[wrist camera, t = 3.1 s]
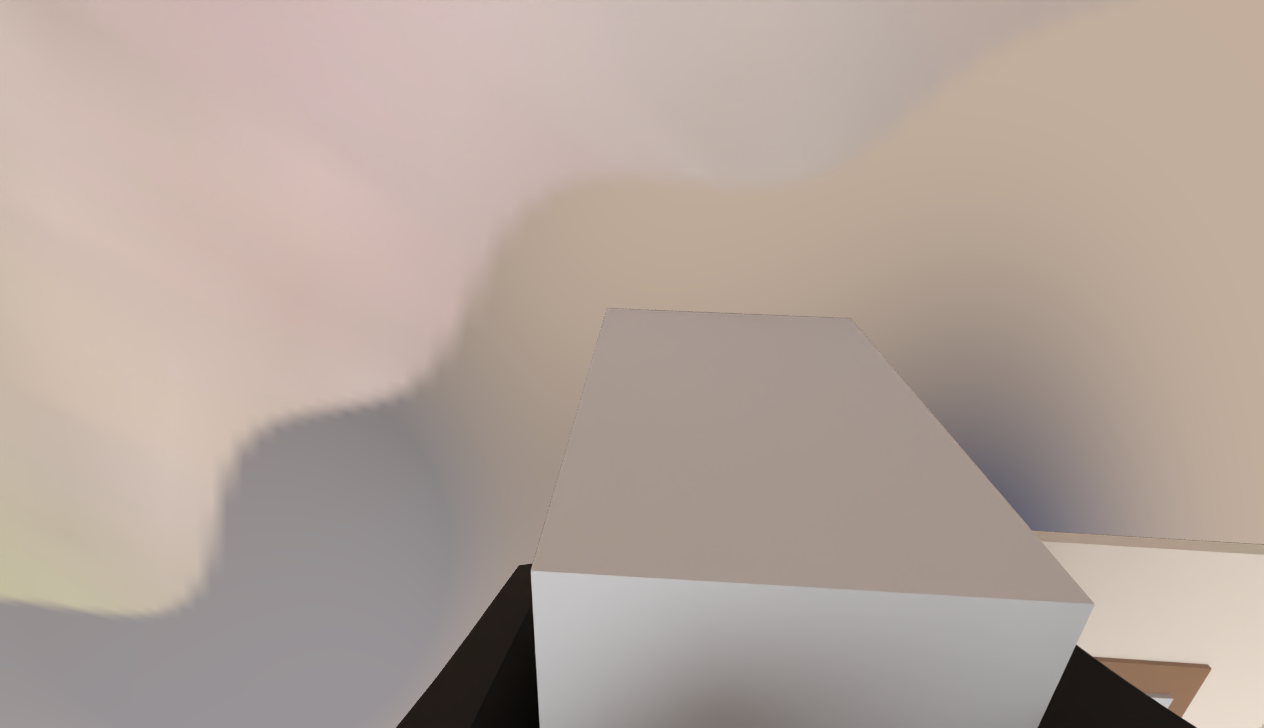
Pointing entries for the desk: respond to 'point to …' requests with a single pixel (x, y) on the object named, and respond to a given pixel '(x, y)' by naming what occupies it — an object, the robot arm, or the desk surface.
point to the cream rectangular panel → (1175, 620)
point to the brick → (782, 544)
